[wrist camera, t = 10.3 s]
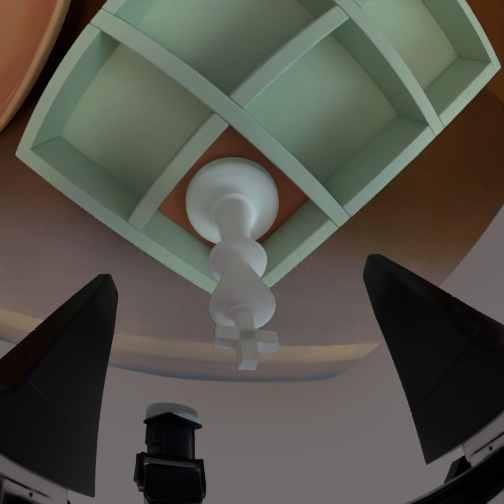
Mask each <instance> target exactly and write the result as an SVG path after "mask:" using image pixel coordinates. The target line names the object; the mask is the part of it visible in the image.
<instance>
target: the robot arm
mask: <svg viewBox="0 0 504 504" xmlns="http://www.w3.org/2000/svg"><path fill="white" fill-rule="evenodd" d="M363 279H364V282H365V286H366V289H367V292H368V295H369V298H370V301H371V305H372V308H373V311H374V314H375V316H376V319H377V321H378V324H379V326H380V329H381V331H382V333H383V336H384V338H385V341H386V343H387V346H388V348H389V351H390V353H391V356H392V359H393V361H394V364H395V367H396V370H397V372H398V375H399V378H400V380H401V383H402V386H403V389H404V392H405V395H406V398H407V401H408V404H409V407H410V410H411V413H412V417H413V420H414V423H415V426H416V430H417V433H418V437H419V440H420V444H421V448H422V451H423V455H424V459H425V462H426V464H427V465H428V464H430V463H432V462H434V461H436V460H438V459H439V458H442V457H443V456H445V455H447V454H449V453H451V452H452V451H454V450H456V449H458V448H460V447H461V446H462V449H463V451H464V454H465V455H464V456H462V457H461V458H459V459H457V460H456V461H454V462H452V464H451V467H450V470H449V472H448V474H447V477H446V479H445V482H444V484H443V485H441V486H440V487H438V488H436V489H434V490H432V491H430V492H428V493H427V494H424V495H422V496H420V497H418V498H416V499H414V500H412V501H410V502H407V503H405V504H504V325H503V324H501V323H499V322H497V321H496V320H494V319H492V318H490V317H488V316H487V315H485V314H483V313H481V312H479V311H477V310H476V309H474V308H472V307H470V306H469V305H467V304H465V303H463V302H462V301H460V300H459V299H457V298H455V297H452V295H450V294H449V293H447V292H445V291H444V290H442V289H440V288H439V287H437V286H435V285H434V284H432V283H430V282H428V281H427V280H425V279H423V278H422V277H420V276H418V275H416V274H415V273H413V272H411V271H409V270H407V269H406V268H404V267H402V266H400V265H399V264H397V263H395V262H393V261H391V260H389V259H388V258H386V257H384V256H382V255H380V254H370V255H368V257H367V260H366V264H365V268H364V272H363ZM117 303H118V292H117V289H116V286H115V284H114V281H113V279H112V276H111V275H110V274H100V275H98V276H97V277H95V278H94V279H93V280H92V281H90V282H89V283H88V284H87V285H85V286H84V287H83V288H82V289H81V290H79V291H78V292H77V293H76V294H74V295H73V296H72V297H71V298H70V299H68V300H67V301H66V302H65V303H64V304H63V305H61V306H60V307H59V308H58V309H57V310H56V311H54V312H53V313H52V314H51V315H50V316H49V317H48V318H46V319H45V320H44V321H43V322H42V323H41V324H40V325H39V326H37V327H36V328H35V330H33V331H32V332H31V333H30V334H29V335H28V336H26V337H25V338H24V339H23V340H22V341H21V342H20V343H19V344H18V345H16V346H15V347H14V348H13V349H12V350H10V351H9V352H8V353H7V354H6V355H4V356H3V357H2V358H1V359H0V504H70V502H69V501H68V500H67V497H68V490H70V491H73V492H76V493H79V494H83V495H86V496H90V497H94V496H95V468H96V451H97V438H98V428H99V418H100V411H101V403H102V396H103V389H104V383H105V377H106V371H107V366H108V360H109V355H110V350H111V345H112V341H113V335H114V328H115V319H116V311H117ZM143 423H144V424H147V427H146V438H145V439H146V440H145V444H146V445H147V453H145V452H141V453H138V454H136V466H135V473H134V481H135V483H136V484H137V487H139V491H140V492H143V493H144V504H202V501H203V498H205V496H206V480H205V471H204V462H203V459H195V430H197V429H201V428H202V425H201V424H199V423H196V422H193V421H191V420H188V419H186V418H183V417H181V416H179V415H176V414H174V413H171V412H166V413H163V414H160V415H157V416H154V417H151V418H148V419H145V420H144V421H143ZM145 463H149V464H146V465H145Z"/></svg>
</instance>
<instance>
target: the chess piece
mask: <svg viewBox="0 0 504 504" xmlns="http://www.w3.org/2000/svg"><path fill="white" fill-rule="evenodd" d="M278 208H279V198H278V190H277V186H276V184H275V182H274V180H273V178H272V176H271V175H270V174H269V172H268V171H267V170H266V169H265V168H263V167H262V166H261V165H259V164H258V163H256V162H254V161H252V160H249V159H246V158H241V157H225V158H220V159H217V160H214V161H212V162H210V163H208V164H206V165H205V166H203V167H202V168H201V169H200V170H199V171H198V172H197V173H196V174H195V175H194V177H193V178H192V180H191V181H190V183H189V186H188V189H187V193H186V211H187V215H188V218H189V221H190V223H191V225H192V226H193V228H194V229H195V230H196V231H197V232H198V233H199V234H200V235H201V236H202V237H204V238H205V239H207V240H208V241H210V242H213V243H215V244H217V245H215V246H214V248H213V249H212V250H211V252H210V255H209V258H208V265H209V269H210V271H211V273H212V275H213V277H214V278H215V279H216V280H217V281H218V282H219V283H218V285H217V286H216V288H215V289H214V291H213V293H212V295H211V298H210V301H209V307H208V308H209V314H210V316H211V318H212V319H213V321H214V322H215V323H216V324H217V325H216V327H215V330H214V334H213V347H214V348H223V349H232V350H237V362H238V369H242V370H255V369H256V367H257V365H258V363H259V354H258V352H264V353H274V352H275V351H276V349H277V347H278V345H279V340H278V335H277V332H275V331H265V330H256V329H257V328H260V327H261V326H263V325H264V324H266V323H267V322H268V321H269V320H270V319H271V318H272V316H273V314H274V312H275V308H276V302H275V298H274V295H273V293H272V292H271V290H270V289H269V288H268V286H267V285H266V284H265V283H264V282H263V281H262V280H261V279H260V277H261V276H262V275H263V273H264V271H265V268H266V265H267V255H266V252H265V250H264V248H263V247H262V246H261V245H260V244H259V243H258V242H256V241H255V240H257V239H258V238H260V237H261V236H262V235H264V234H265V233H266V232H267V231H268V230H269V229H270V227H271V226H272V224H273V223H274V221H275V219H276V216H277V213H278Z"/></svg>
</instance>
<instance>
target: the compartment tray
mask: <svg viewBox="0 0 504 504" xmlns="http://www.w3.org/2000/svg"><path fill="white" fill-rule="evenodd" d="M102 8H103V9H100V10H99V12H98V13H97V14H96V15H95V16H94V18H93V19H92V20H91V21H90V23H91V24H90V23H89V24H88V25H87V26H86V27H85V29H84V30H83V31H82V33H81V34H80V35H79V37H78V38H77V39H76V41H75V42H74V44H73V45H72V47H71V48H70V49H69V51H68V52H67V54H66V55H65V57H64V58H63V60H62V62H61V63H60V65H59V66H58V68H57V70H56V71H55V73H54V75H53V76H52V78H51V80H50V81H49V83H48V85H47V87H46V89H45V90H44V92H43V94H42V96H41V98H40V100H39V102H38V104H37V106H36V108H35V110H34V112H33V114H32V116H31V118H30V120H29V123H28V125H27V127H26V129H25V132H24V134H23V136H22V139H21V142H20V144H19V146H18V149H17V151H16V154H15V155H16V156H17V157H18V158H19V159H20V160H22V161H23V162H24V163H25V164H26V165H28V166H29V167H30V168H31V169H33V170H34V171H35V172H36V173H38V174H39V175H40V176H41V177H43V178H44V179H45V180H46V181H48V182H49V183H50V184H52V185H53V186H54V187H55V188H57V189H58V190H59V191H61V192H62V193H63V194H64V195H66V196H67V197H68V198H70V199H71V200H72V201H74V202H75V203H76V204H78V205H79V206H80V207H82V208H83V209H85V210H86V211H87V212H89V213H90V214H91V215H93V216H94V217H95V218H97V219H98V220H100V221H101V222H102V223H104V224H105V225H107V226H108V227H109V228H111V229H112V230H114V231H115V232H117V233H118V234H119V235H121V236H122V237H124V238H125V239H127V240H128V241H130V242H131V243H132V244H134V245H135V246H137V247H138V248H140V249H141V250H143V251H144V252H146V253H147V254H149V255H150V256H152V257H153V258H155V259H156V260H158V261H159V262H161V263H162V264H164V265H165V266H167V267H169V268H170V269H172V270H173V271H175V272H176V273H178V274H179V275H181V276H183V277H184V278H186V279H187V280H189V281H190V282H192V283H194V284H195V285H197V286H198V287H200V288H202V289H203V290H205V291H206V292H208V293H210V294H211V295H212V293H213V291H214V289H215V288H216V286H217V285H218V283H219V282H218V281H217V280H216V279H215V278H214V277H213V275H212V273H211V271H210V269H209V265H208V258H209V255H210V252H211V250H212V249H213V248H214V246H215V245H217V244H215V243H213V242H210V241H208V240H207V239H205V238H204V237H202V236H201V235H200V234H199V233H198V232H197V231H196V230H195V229H194V228H193V226H192V225H191V223H190V221H189V218H188V215H187V211H186V193H187V189H188V186H189V183H190V181H191V180H192V178H193V177H194V175H195V174H196V173H197V172H198V171H199V170H200V169H201V168H202V167H203V166H205V165H206V164H208V163H210V162H212V161H214V160H217V159H220V158H225V157H241V158H246V159H249V160H252V161H254V162H256V163H258V164H259V165H261V166H262V167H263V168H265V169H266V170H267V171H268V172H269V174H270V175H271V176H272V178H273V180H274V182H275V184H276V186H277V190H278V198H279V208H278V213H277V216H276V219H275V221H274V223H273V224H272V226H271V227H270V229H269V230H268V231H267V232H266V233H265V234H264V235H262V236H261V237H260V238H258V239H257V240H255V241H256V242H258V243H259V244H260V245H261V246H262V247H263V248H264V250H265V252H266V255H267V265H266V268H265V271H264V273H263V275H262V276H261V277H260V279H261V280H262V281H263V282H264V283H265V284H266V285H267V286H268V288H270V287H271V286H272V285H274V284H275V283H276V282H277V281H278V280H280V279H281V278H282V277H283V276H284V275H286V274H287V273H288V272H289V271H290V270H291V269H293V268H294V267H295V266H296V265H297V264H298V263H300V262H301V261H302V260H303V259H304V258H305V257H306V256H308V255H309V254H310V253H311V252H312V251H313V250H315V249H316V248H317V247H318V246H319V245H320V244H321V243H322V242H324V241H325V240H326V239H327V238H328V237H329V236H330V235H332V234H333V233H334V232H335V231H336V230H337V229H338V227H340V226H342V225H343V224H344V223H345V222H346V221H347V220H348V219H349V218H350V216H351V217H352V216H353V215H354V214H355V213H356V212H357V211H358V210H360V209H361V208H362V207H363V206H364V205H365V204H366V203H367V202H368V201H369V200H370V199H372V198H373V197H374V196H375V195H376V194H377V193H378V192H379V191H380V190H381V189H382V188H383V187H384V186H385V185H387V184H388V183H389V182H390V181H391V180H392V179H393V178H394V177H395V176H396V175H397V174H398V173H399V172H400V171H401V170H402V169H403V168H404V167H405V166H406V165H407V164H409V163H410V162H411V161H412V160H413V159H414V158H415V157H416V156H417V155H418V154H419V153H420V152H421V151H422V150H423V149H424V148H425V147H426V146H427V145H428V144H429V143H430V142H431V141H432V140H433V139H434V138H435V136H437V135H438V134H439V133H440V132H441V131H442V130H443V129H444V127H446V126H447V125H448V124H449V123H450V122H451V120H452V119H453V118H454V117H455V116H456V115H457V114H458V113H459V112H460V111H461V110H462V109H463V108H464V107H465V106H466V105H467V104H468V103H469V102H470V101H471V100H472V99H473V97H474V96H475V95H476V94H477V93H478V92H479V91H480V90H481V89H482V88H483V87H484V86H485V85H486V83H487V82H488V81H489V80H490V79H491V78H492V77H493V76H494V75H495V74H496V72H497V71H498V70H499V69H500V68H501V66H500V64H499V61H498V59H497V57H496V55H495V53H494V51H493V48H492V46H491V44H490V42H489V40H488V39H487V37H486V35H485V33H484V31H483V29H482V27H481V26H480V24H479V22H478V20H477V19H476V17H475V15H474V14H473V12H472V10H471V9H470V7H469V6H468V4H467V2H466V1H465V0H108V1H107V2H106V3H105V4H104V5H103V6H102Z"/></svg>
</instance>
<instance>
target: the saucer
mask: <svg viewBox="0 0 504 504" xmlns="http://www.w3.org/2000/svg"><path fill="white" fill-rule="evenodd" d="M70 2H71V0H0V132H1V131H2V130H3V129H4V128H5V126H6V125H7V124H8V123H9V122H10V120H11V119H12V118H13V117H14V115H15V114H16V113H17V111H18V110H19V108H20V107H21V105H22V104H23V102H24V101H25V99H26V98H27V96H28V94H29V93H30V91H31V89H32V88H33V86H34V84H35V82H36V81H37V79H38V77H39V75H40V73H41V71H42V69H43V68H44V66H45V64H46V62H47V60H48V58H49V55H50V53H51V51H52V49H53V47H54V45H55V42H56V40H57V38H58V35H59V33H60V31H61V28H62V25H63V23H64V20H65V17H66V14H67V12H68V9H69V5H70Z"/></svg>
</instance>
